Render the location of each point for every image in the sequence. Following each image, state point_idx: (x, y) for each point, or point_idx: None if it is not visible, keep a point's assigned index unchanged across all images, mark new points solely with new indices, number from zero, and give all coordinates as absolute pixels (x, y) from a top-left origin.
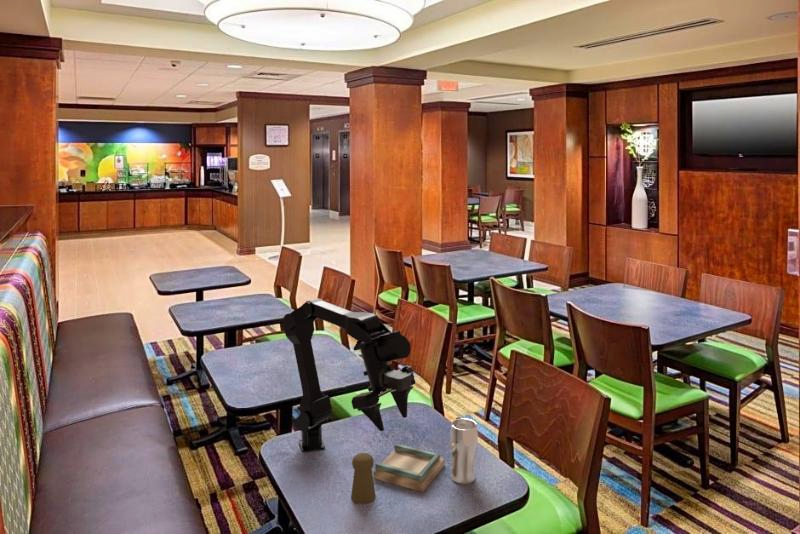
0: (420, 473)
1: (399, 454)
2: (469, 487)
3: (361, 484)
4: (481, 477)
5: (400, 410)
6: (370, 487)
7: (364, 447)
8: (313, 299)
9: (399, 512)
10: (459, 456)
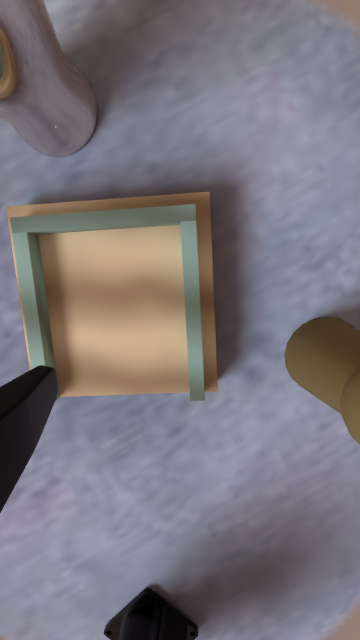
0: (178, 216)
1: (75, 367)
2: (99, 59)
3: None
4: None
5: (22, 458)
6: (358, 334)
7: (74, 494)
8: None
9: (350, 210)
10: (50, 25)
